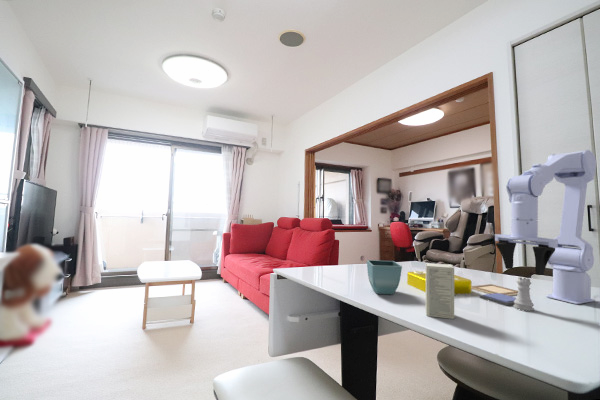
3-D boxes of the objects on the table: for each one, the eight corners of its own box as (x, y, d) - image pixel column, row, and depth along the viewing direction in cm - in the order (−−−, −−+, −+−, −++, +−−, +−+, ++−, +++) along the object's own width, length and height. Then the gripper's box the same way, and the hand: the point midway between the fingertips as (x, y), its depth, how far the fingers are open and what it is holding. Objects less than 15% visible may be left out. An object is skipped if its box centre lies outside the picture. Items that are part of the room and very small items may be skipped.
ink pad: (497, 295, 94) (497, 292, 94) (525, 303, 87) (525, 299, 87) (479, 297, 91) (479, 294, 91) (507, 306, 84) (507, 302, 84)
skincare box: (452, 314, 76) (452, 264, 76) (454, 320, 72) (455, 267, 72) (424, 310, 78) (425, 262, 78) (425, 316, 74) (426, 265, 74)
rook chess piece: (537, 312, 79) (538, 281, 79) (518, 310, 80) (518, 279, 80) (528, 307, 83) (529, 277, 84) (510, 305, 84) (510, 276, 84)
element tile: (431, 296, 93) (431, 280, 93) (404, 284, 107) (404, 270, 108) (474, 294, 96) (474, 279, 96) (442, 283, 110) (443, 269, 111)
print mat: (490, 285, 107) (490, 283, 107) (524, 293, 97) (524, 291, 97) (468, 287, 103) (468, 286, 103) (501, 297, 93) (501, 295, 93)
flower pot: (402, 297, 90) (402, 266, 90) (371, 296, 90) (372, 265, 90) (393, 289, 98) (393, 260, 99) (365, 288, 99) (366, 260, 99)
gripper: (488, 218, 87) (487, 267, 87) (545, 221, 74) (545, 278, 74) (504, 219, 90) (503, 265, 90) (562, 221, 77) (562, 276, 76)
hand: (523, 271), depth 82 cm, fingers open, 7 cm apart
